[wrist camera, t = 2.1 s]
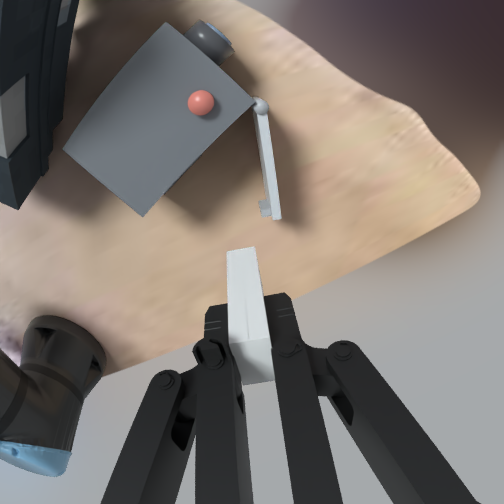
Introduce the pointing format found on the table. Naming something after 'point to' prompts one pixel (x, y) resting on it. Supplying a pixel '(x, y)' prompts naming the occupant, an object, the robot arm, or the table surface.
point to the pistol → (31, 89)
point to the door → (266, 160)
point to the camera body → (159, 114)
